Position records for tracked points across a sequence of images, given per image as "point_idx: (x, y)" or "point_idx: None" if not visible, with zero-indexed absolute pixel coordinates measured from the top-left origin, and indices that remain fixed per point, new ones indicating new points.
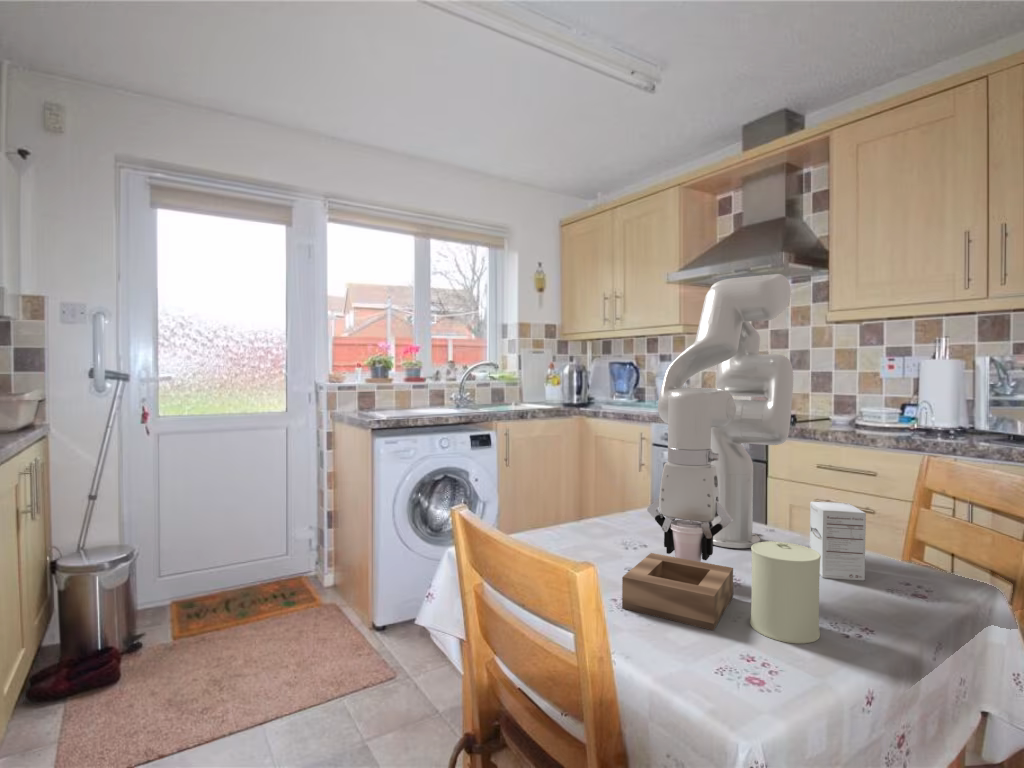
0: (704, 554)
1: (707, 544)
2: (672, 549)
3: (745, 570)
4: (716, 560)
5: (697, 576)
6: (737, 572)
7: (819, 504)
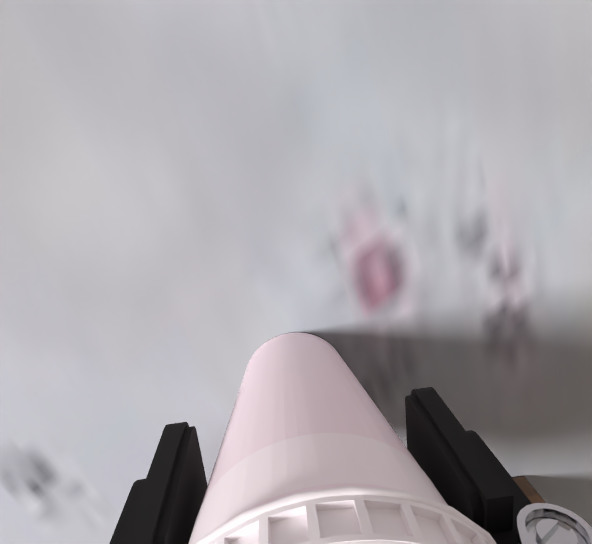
0: None
1: None
2: (201, 483)
3: (524, 94)
4: (336, 13)
5: None
6: (491, 161)
7: None
